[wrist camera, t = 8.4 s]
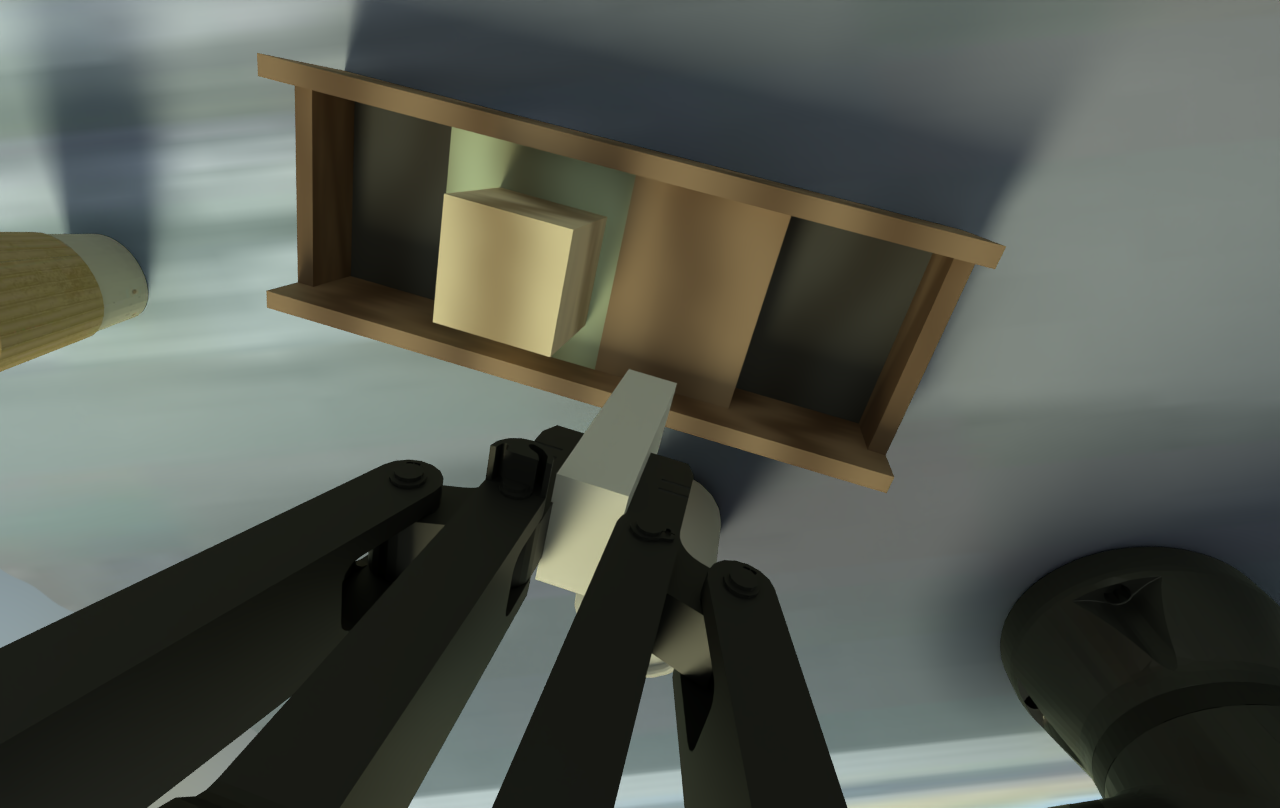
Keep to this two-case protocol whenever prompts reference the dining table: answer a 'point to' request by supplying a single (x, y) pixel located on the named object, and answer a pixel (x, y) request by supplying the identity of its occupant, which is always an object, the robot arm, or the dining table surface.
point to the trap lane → (632, 270)
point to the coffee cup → (62, 291)
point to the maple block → (516, 268)
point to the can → (691, 546)
